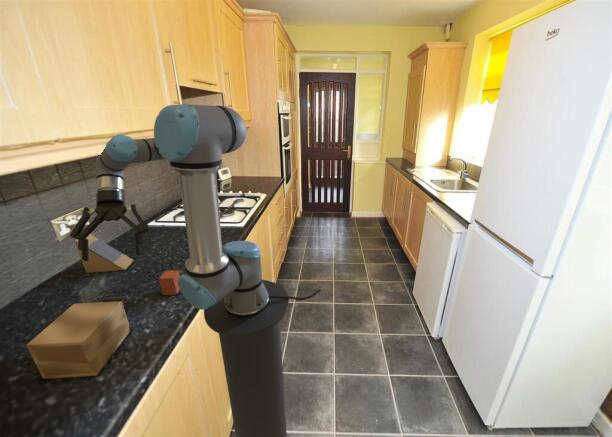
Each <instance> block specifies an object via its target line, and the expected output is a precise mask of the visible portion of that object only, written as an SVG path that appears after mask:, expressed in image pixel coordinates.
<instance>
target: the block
mask: <svg viewBox="0 0 612 437" xmlns="http://www.w3.org/2000/svg"><path fill="white" fill-rule="evenodd" d="M180 277H181V274H180V270H164V271H163V273H162V274H161V275H160V276H159V278H158V281H159V285H160V290H161V293H162V294H161V295H162V296H173V295H174V296H175V295H178V294H179V292H180V289H179V286H178V279H179V278H180Z"/></svg>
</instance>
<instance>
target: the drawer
mask: <svg viewBox="0 0 612 437" xmlns="http://www.w3.org/2000/svg"><path fill="white" fill-rule="evenodd" d="M119 301H121V303H122V306H123V310H124V313H125V316H126V319H127V322H128V326H129V327H130V323H129V318H128V315H127V313H126V310H125V307H124V302H127V301H128V296H110V297H109V296H108V297H102V298H101V300H100V302H119Z"/></svg>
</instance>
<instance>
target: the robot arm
mask: <svg viewBox="0 0 612 437" xmlns="http://www.w3.org/2000/svg"><path fill="white" fill-rule="evenodd" d="M246 137H247V125H246V123H245V120H244V119H243V117H242V116H241V115H240V114H239V113H238V112H237V111H236V110H235V109H233V108H231V107H228V106H226V105H208V104H207V105H206V104H188V103H181V104H169V105H166V106H164V107H162V109H161V110H160V111H159V112H158V115H157V116H156V117H155V120H154V124H153V137H149V138H132V137H131V136H129V135H126V134H116V135H114V136H112V137H111V138H110V139H109V140H108V141H107V142H106V144H105V146H106V147H105V149H104V150H103V152H102V153H101V154H102V155H98V156H96V155H95V157H94V161H95V191H96V195H95V198H96V199H95V200H96V202H95V203H96V205H95V207H94V208H91V207H90V208H89V207H87V206H85V207H83V210H82V214H81V217H80V218H79V220H78V221H77V222H76V224H75V226H74V227H73V229H72V231H71V232H70V233H69V237H70V238H72V239H74V240H76V239H78V249H79V250H82V260H84V261H89V249H88V239H86V238H87V237H88V236H89V235H90V234H91V235H92V233H93V232H94V231H95V229H97V228H98V227H99V226H100V224H102V223H104V222H112V221H115V222H116V221H117V222H119V220H122V221H123V222H125V223H126V224H127V226H130V227H131V228H132V229H133V230H134V231H135V233H134V239H135V242H134V243H135V254H137V255H141V245H142V244H144V234H145V233H148V232H150V228H149V227H148V225H147V224H146V223H145V221H144V219H142V217H141V215H140V214H139V213H138V208H137V206H136V205H135V204H134V203H133V204H131V205H127V206H126V195H125V190H126V189H125V169H126V168H127V167H128V166H129V165H133V164H140V163H149V162H154V161H161V160H162V161H163V160H165V161H167V162H168V161H169V165H170V168H172V169H173V170H174V171H176V172H177V173H178V179H179V185H180V186H179V187H180V193H181V194H180V195H181V200H182V201H181V202H182V209H183V215H184V223H185V224H184V225H185V230H186V231H185V232H186V238H187V243H188V252H189V257H188V258H187V259H186V260H185V262H184V268H185V269H184V270H185V273H184V274H180V278H179V279H178V286H179V289H180V290H179V292H180V293H181V294H182V296H183V298H184V299H185V300H186V302H188V303H189V304H190V305H191V306H192V307H193V308H196V309H197V310H201V311H204V310H205V309H207V308H209V307H211V306H213V305H215V304H216V303H217V302H219V301H220V300H221V299H223V298H224V297H225V296H226V297H225V308H226V311H227V312H228V313H229V314H230V315H232V316H235V317H251V316H254V315H257V314H259V313H260V312H262V311H263V310H264V309H265V308H266V307H267V306H268V304H269V298H287V299H289V300H290V299H291V300H296V301H297V300H298V301H305V300H309V299H311V298H313V297H314V296H316V295H317V294H318V293H320V292H321V289H320V288H319V289H317V290H316V291H315V292H314V293H312V294H310V295H308V296H305V297H298V296H289V295H288V296H269V295H268V292H267V290H266V288H265V286H264V284H263V282H262V280H263V273H262V272H263V271H262V257H261V256H262V255H261V251H260V247H259V245H258V244H257V243H255V242H252V241H249V240H233V241H230V242H229V241H228V242H227V243H225V244H224V245H223V241H222V240H223V239H222V229H221V216H220V204H219V190H218V189H219V188H218V178H217V171H218V170H219V169H220V168H221V167H222V166H223V161H222V159H223V158H222V155H225V154H229V153H232V152H235V151H237V150H239V149H240V148H241V147H242V146H243V145H244V143H245V142H246V141H245V140H246V139H247V138H246ZM128 211H129V212H130V213H131V214H133V216H134V217H135V218H136V220H137V221H138V223H139V224H140V226H141V227H142V228H140V227H139V226H138V225H137V224H135V223H134V222H133V221H132V220H131V219H129V218H128V217H127V216H126V215H125V214H126V213H127V212H128ZM94 213H95V214H97V215H95V217H94V218H93V219H92V220H91V222H90V223H89V224H87V223H88V222H89V220H90V218H91V216H93V215H94ZM86 225H87V226H86ZM78 249H77V250H78ZM82 260H81V261H82Z"/></svg>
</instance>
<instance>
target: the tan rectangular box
mask: <svg viewBox="0 0 612 437" xmlns="http://www.w3.org/2000/svg"><path fill="white" fill-rule="evenodd" d="M123 306H124V305H123ZM123 306H122V303H121V301H119V302H101V301H100V302H99V301H98V302H78V303H73V304H72V305H71V306H70V307H68V308H67V309H66V310H65V311H64V312H63V313H61V314H60V315H59V316H58V317H57V318H56V319H54V321H52V322H51V323H50V324H48V326H47V327H45V328H44V329H43V330H42V331H41V332H40V333H38V334H37V335H36V336H35V337H33V339H31V340H30V341H29V342H28V343H27V344H26V348H27V350H28V352H29V354H30V356H31V358H32V359H33V362H34V363H35V364H34V365H35V366H36V368H37V370H38V372H39V374H40V376H41V377H42V379H43V380H46V379H48V380H49V379H62V378H63V379H64V378H81V377H96V376H98V375H99V374H100V372H101V371H102V370H103V368H104V367H105V366H106V365H107V363H108V362H109V360H110V359H111V358H112V356H113V355H114V353H116V351H117V350H118V348H119V347H120V346H121V344H122V343H123V341H124V340H125V339H126V337H127V336H128V335H129V334H130V332H131V329H130V325H129V326H128V322H129V321H128V322H127V319H128V318H127V319H126V316H127V315H126V316H125V313H126V312H125V313H124V310H123Z"/></svg>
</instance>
